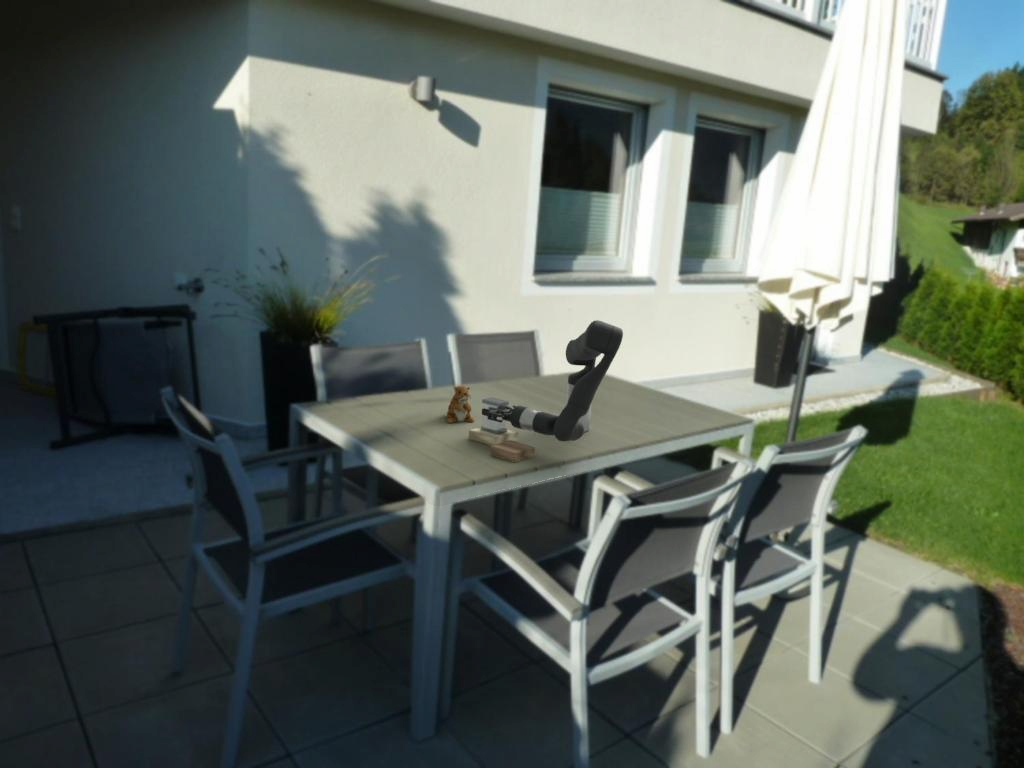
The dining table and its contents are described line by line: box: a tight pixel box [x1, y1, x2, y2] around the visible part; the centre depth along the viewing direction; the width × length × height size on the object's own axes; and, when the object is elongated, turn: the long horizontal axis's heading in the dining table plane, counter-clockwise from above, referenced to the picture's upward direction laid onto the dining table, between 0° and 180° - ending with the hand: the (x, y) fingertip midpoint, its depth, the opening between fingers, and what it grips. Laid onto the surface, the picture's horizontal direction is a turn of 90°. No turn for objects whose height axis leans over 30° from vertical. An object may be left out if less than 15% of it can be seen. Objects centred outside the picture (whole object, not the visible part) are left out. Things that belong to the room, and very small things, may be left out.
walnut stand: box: [490, 440, 536, 463], centre depth 244 cm, size 10×10×3 cm
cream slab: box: [468, 426, 519, 446], centre depth 261 cm, size 12×12×3 cm
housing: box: [480, 396, 510, 435], centre depth 259 cm, size 5×8×11 cm, turn 51°
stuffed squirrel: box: [446, 385, 475, 424], centre depth 283 cm, size 10×14×13 cm
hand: (490, 409), depth 260 cm, fingers open, 8 cm apart
